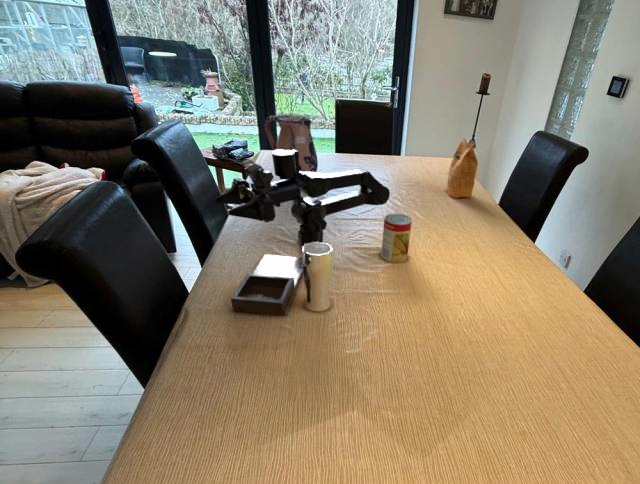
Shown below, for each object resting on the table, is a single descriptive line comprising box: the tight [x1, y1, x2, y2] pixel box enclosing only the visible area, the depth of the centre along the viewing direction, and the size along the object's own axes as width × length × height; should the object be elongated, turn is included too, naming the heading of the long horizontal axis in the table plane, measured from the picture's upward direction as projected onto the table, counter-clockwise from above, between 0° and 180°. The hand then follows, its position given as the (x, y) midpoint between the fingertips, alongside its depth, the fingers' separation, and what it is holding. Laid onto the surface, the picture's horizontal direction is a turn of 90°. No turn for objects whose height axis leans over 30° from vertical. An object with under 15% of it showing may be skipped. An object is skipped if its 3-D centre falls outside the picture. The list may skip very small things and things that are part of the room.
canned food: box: [380, 213, 413, 263], centre depth 121 cm, size 8×8×12 cm
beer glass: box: [301, 242, 334, 312], centre depth 96 cm, size 7×7×15 cm
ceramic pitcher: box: [264, 114, 319, 173], centre depth 169 cm, size 18×21×25 cm
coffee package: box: [445, 137, 479, 199], centre depth 173 cm, size 10×12×22 cm
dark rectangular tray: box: [230, 254, 303, 316], centre depth 104 cm, size 27×12×4 cm, turn 178°
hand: (221, 206), depth 104 cm, fingers open, 9 cm apart
